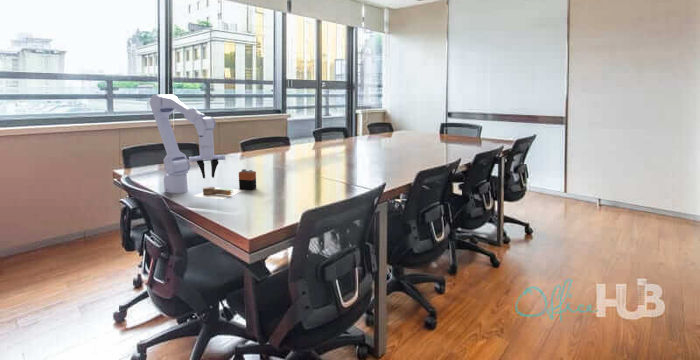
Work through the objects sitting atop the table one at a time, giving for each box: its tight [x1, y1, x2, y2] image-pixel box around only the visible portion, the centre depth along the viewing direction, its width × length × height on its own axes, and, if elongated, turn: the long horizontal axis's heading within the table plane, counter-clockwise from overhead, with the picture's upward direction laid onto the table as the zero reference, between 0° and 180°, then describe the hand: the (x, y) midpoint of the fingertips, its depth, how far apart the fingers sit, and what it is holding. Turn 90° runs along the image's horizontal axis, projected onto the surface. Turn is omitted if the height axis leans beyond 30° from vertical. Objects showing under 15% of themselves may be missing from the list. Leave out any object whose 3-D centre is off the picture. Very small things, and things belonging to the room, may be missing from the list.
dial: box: [202, 186, 231, 195], centre depth 187 cm, size 13×5×2 cm, turn 73°
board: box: [194, 186, 245, 200], centre depth 190 cm, size 15×17×1 cm
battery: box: [238, 168, 257, 191], centre depth 197 cm, size 4×7×10 cm, turn 77°
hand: (208, 177), depth 182 cm, fingers open, 3 cm apart
